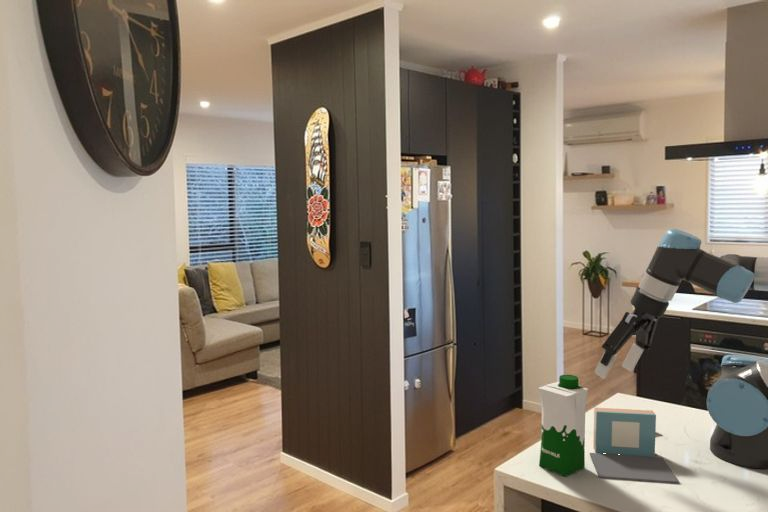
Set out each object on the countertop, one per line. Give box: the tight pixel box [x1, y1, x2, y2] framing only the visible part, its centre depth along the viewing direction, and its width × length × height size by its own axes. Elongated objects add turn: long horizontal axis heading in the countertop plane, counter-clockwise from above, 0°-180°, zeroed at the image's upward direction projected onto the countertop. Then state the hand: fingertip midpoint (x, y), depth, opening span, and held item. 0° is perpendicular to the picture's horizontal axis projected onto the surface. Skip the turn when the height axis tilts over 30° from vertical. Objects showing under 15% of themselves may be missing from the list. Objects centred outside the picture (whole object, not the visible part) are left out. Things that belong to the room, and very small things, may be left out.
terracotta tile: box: [592, 407, 657, 457], centre depth 137 cm, size 3×13×10 cm, turn 80°
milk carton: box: [538, 374, 589, 478], centre depth 129 cm, size 9×9×20 cm
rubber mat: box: [589, 452, 680, 484], centre depth 129 cm, size 12×16×1 cm
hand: (613, 372), depth 140 cm, fingers open, 13 cm apart
